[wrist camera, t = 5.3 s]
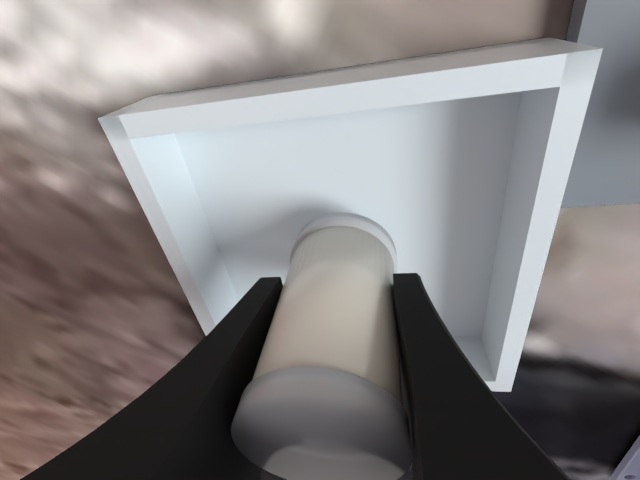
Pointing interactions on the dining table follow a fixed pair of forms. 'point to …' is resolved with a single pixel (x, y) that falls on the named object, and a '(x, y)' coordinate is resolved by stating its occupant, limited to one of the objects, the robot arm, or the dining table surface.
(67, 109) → the dining table surface
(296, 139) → the parts tray
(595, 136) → the fuse panel
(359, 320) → the fuse
